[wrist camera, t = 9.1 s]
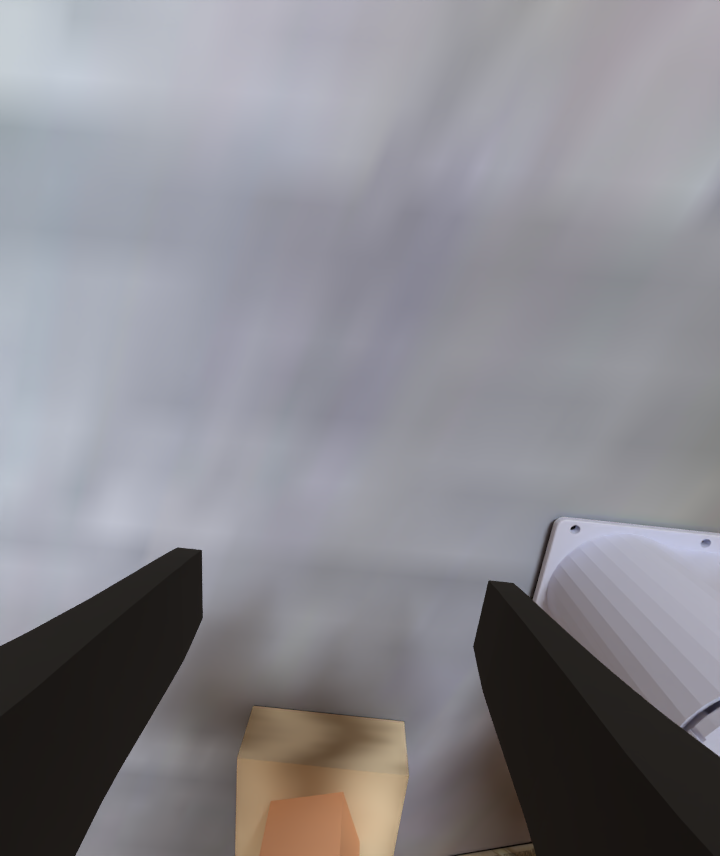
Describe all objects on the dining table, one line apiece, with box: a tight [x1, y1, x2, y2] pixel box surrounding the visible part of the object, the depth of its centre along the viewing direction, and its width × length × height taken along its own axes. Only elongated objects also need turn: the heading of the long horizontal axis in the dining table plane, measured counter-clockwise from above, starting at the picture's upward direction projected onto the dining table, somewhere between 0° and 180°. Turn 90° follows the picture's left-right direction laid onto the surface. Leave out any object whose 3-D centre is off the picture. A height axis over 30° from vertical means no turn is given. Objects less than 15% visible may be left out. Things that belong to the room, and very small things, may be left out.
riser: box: [235, 706, 409, 856], centre depth 24 cm, size 10×10×3 cm
